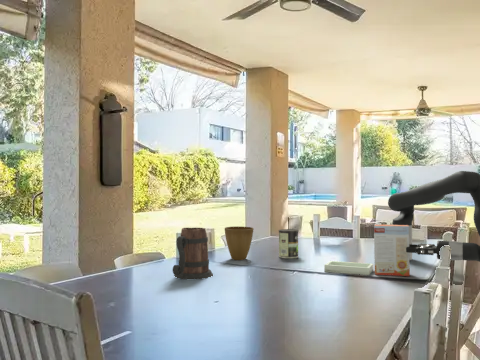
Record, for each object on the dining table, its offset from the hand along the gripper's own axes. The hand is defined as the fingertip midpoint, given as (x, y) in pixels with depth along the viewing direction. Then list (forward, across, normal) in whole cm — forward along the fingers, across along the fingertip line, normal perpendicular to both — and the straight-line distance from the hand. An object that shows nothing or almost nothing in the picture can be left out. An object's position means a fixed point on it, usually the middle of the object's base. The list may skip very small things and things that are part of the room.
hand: (407, 248), depth 192 cm
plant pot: (+82, -10, +12) cm, 84 cm away
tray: (+24, 0, +12) cm, 27 cm away
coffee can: (+61, -26, +12) cm, 67 cm away
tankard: (+82, +38, +12) cm, 91 cm away
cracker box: (+6, 0, +12) cm, 13 cm away
